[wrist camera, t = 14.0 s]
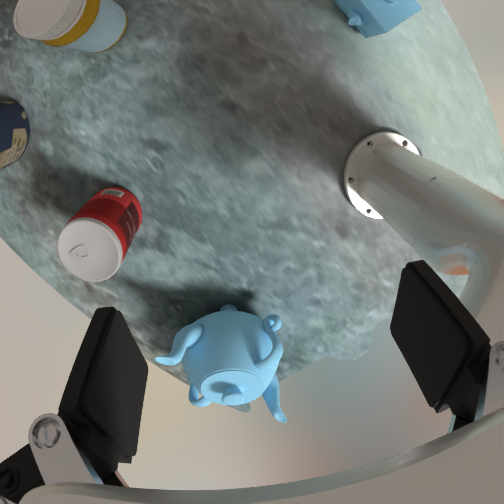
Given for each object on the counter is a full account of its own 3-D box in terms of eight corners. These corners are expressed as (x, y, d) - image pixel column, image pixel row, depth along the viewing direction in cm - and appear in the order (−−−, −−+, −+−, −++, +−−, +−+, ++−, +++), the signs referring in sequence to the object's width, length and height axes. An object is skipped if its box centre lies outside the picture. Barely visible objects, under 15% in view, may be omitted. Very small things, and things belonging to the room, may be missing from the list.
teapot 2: (343, 51, 30) (370, 45, 24) (312, 15, 28) (332, 1, 21) (402, 11, 27) (434, 3, 20) (374, -23, 24) (402, -37, 18)
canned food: (80, 204, 37) (44, 242, 28) (122, 173, 36) (90, 205, 26) (112, 246, 41) (86, 292, 31) (154, 219, 40) (135, 263, 30)
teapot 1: (274, 362, 56) (286, 424, 44) (172, 359, 54) (165, 423, 42) (292, 297, 48) (312, 365, 36) (167, 291, 46) (153, 361, 34)
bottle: (83, 62, 28) (14, 57, 15) (74, 18, 24) (7, -3, 11) (133, 40, 27) (82, 16, 15) (123, -5, 24) (72, -45, 11)
